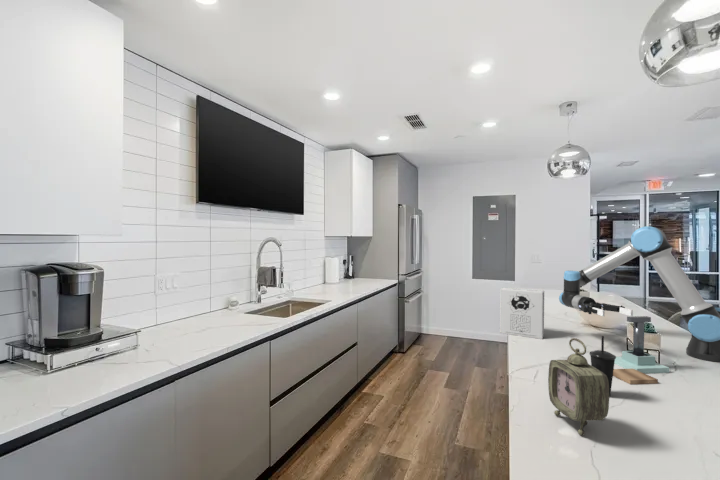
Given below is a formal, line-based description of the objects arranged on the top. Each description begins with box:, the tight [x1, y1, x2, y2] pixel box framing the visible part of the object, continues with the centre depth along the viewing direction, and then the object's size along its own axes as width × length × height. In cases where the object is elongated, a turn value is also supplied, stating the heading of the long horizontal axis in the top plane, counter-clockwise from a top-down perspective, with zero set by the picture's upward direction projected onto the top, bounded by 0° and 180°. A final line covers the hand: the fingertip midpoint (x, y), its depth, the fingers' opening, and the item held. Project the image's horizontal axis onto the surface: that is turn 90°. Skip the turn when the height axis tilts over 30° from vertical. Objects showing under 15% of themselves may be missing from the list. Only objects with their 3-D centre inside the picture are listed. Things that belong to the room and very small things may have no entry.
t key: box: [626, 315, 652, 356], centre depth 151 cm, size 9×5×19 cm, turn 95°
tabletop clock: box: [547, 337, 610, 437], centre depth 104 cm, size 14×9×25 cm, turn 4°
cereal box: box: [499, 287, 545, 340], centre depth 200 cm, size 22×8×25 cm, turn 58°
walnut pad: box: [613, 368, 659, 385], centre depth 139 cm, size 11×11×2 cm
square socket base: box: [614, 350, 670, 374], centre depth 151 cm, size 14×14×6 cm
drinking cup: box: [589, 335, 617, 397], centre depth 125 cm, size 8×8×20 cm
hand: (617, 313), depth 162 cm, fingers open, 13 cm apart
